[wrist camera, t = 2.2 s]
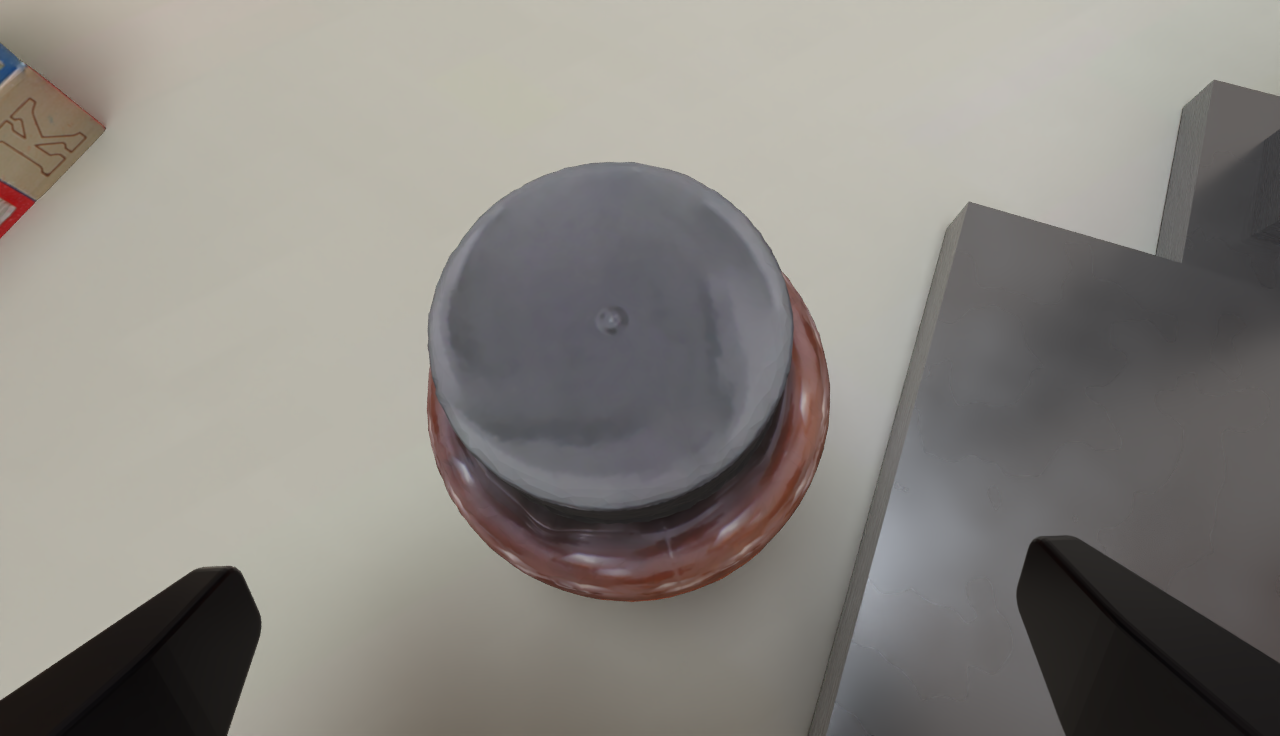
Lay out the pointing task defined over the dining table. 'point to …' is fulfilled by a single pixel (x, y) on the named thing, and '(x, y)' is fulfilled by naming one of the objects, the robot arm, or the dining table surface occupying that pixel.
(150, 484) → the dining table surface
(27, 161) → the stack of blocks
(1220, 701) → the robot arm
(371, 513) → the dining table surface
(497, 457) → the supplement bottle
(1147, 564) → the arbor press
